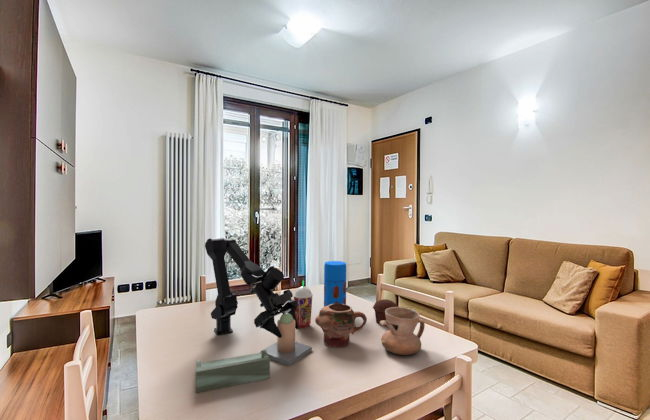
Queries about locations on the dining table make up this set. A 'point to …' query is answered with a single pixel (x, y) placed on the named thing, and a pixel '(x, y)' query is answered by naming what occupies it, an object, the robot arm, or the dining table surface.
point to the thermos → (334, 282)
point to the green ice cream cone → (286, 333)
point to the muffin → (382, 309)
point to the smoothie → (303, 306)
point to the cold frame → (232, 371)
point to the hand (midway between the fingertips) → (289, 332)
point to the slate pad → (288, 357)
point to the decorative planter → (338, 323)
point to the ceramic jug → (402, 331)
